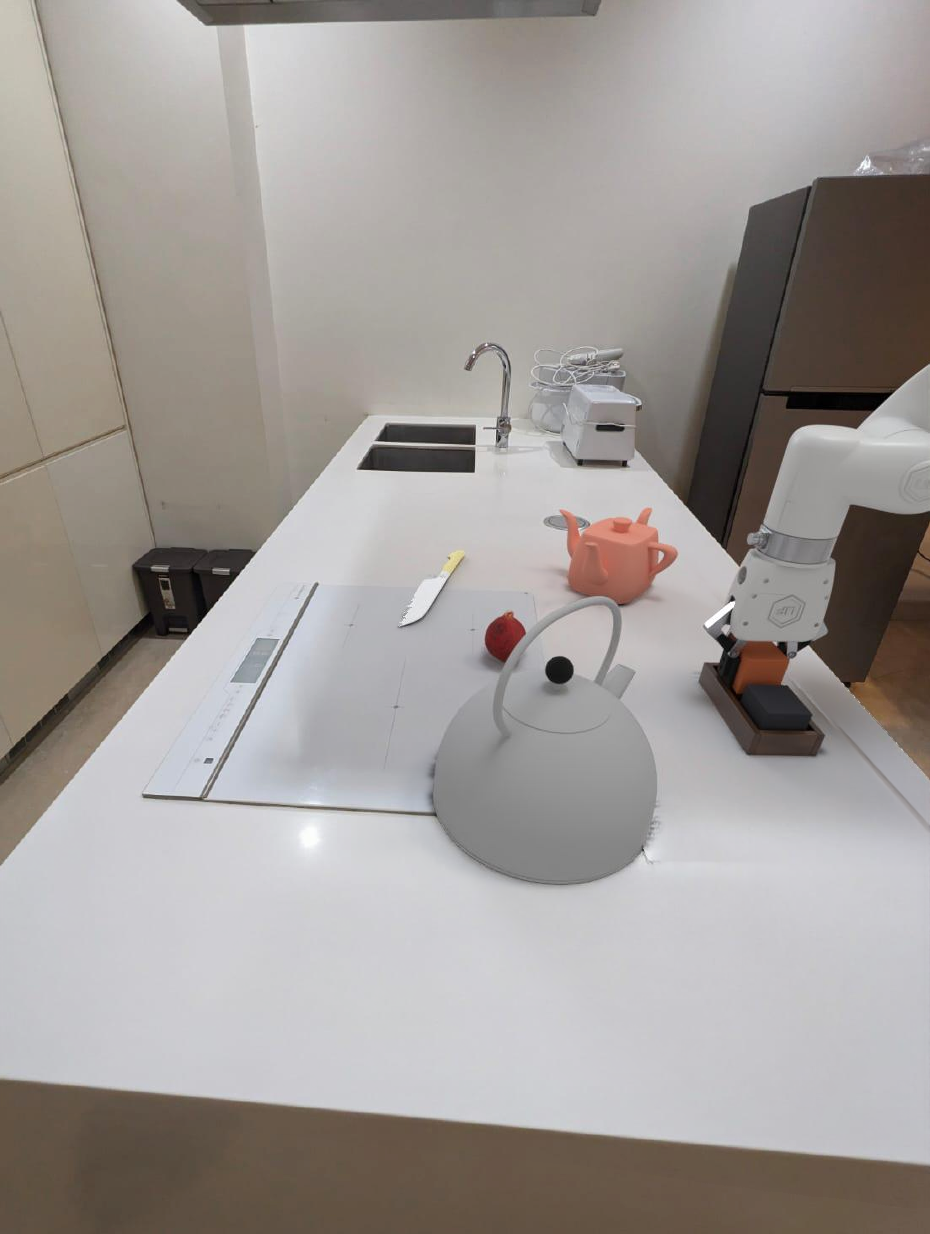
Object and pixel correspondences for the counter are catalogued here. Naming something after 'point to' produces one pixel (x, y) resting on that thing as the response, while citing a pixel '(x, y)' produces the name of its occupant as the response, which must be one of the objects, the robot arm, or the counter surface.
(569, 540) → the pot
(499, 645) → the red pomegranate
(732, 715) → the brown wooden tray
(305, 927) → the counter surface
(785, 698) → the pad charcoal
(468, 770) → the kettle
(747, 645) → the orange block
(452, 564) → the knife
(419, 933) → the counter surface
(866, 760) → the counter surface
